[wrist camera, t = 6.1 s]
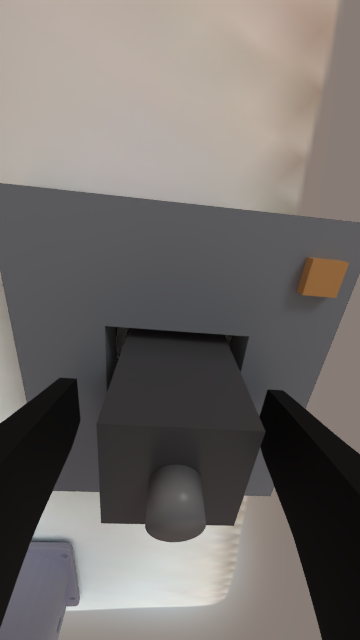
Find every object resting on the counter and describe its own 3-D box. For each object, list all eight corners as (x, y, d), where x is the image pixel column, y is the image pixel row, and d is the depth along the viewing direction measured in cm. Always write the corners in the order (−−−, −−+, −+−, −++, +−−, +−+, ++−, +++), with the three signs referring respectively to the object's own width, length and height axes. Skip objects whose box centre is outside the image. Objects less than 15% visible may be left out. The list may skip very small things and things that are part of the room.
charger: (207, 392, 13) (242, 569, 7) (131, 388, 13) (91, 568, 6) (220, 324, 11) (282, 471, 5) (133, 317, 11) (82, 464, 5)
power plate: (258, 461, 15) (273, 504, 13) (60, 455, 14) (40, 498, 12) (339, 221, 10) (388, 225, 7) (21, 186, 9) (-29, 179, 7)
